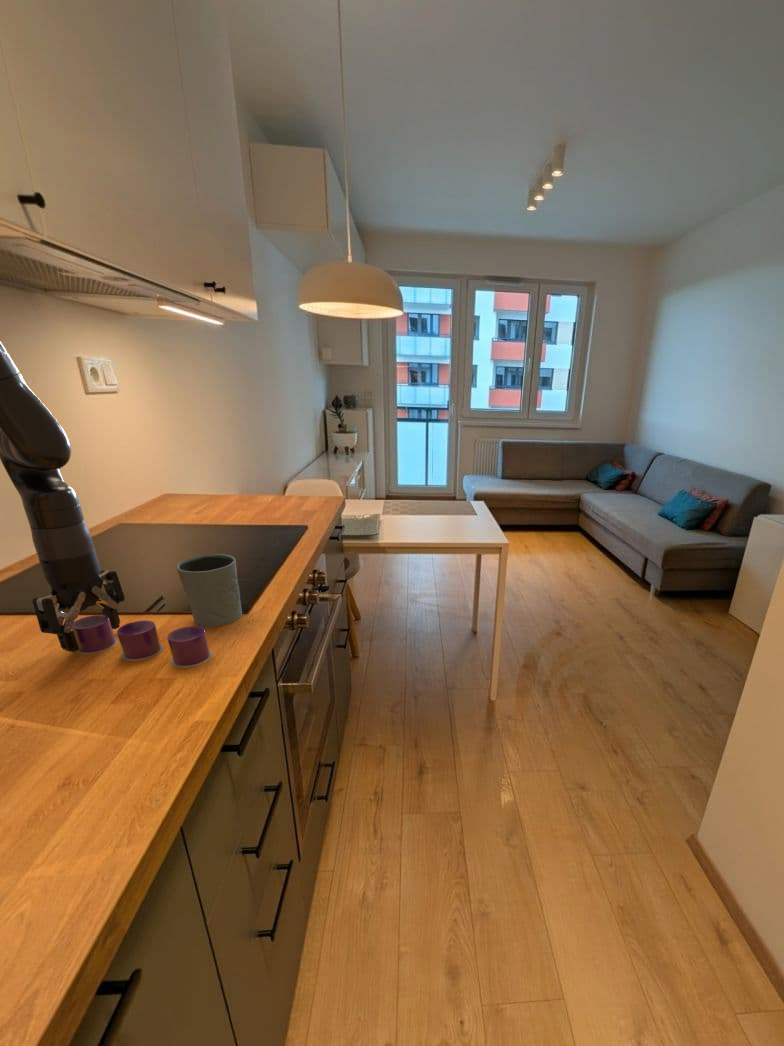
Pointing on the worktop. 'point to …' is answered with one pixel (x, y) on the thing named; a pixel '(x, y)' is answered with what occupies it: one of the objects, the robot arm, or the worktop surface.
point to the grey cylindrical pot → (211, 589)
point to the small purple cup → (139, 639)
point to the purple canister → (188, 645)
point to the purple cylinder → (93, 633)
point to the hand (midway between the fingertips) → (93, 638)
